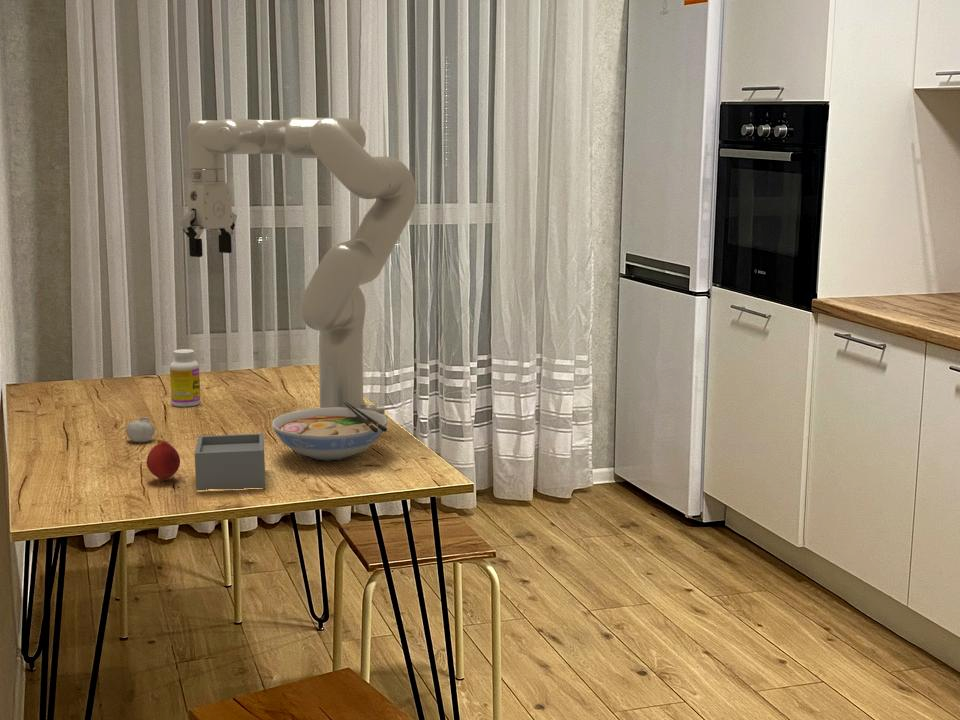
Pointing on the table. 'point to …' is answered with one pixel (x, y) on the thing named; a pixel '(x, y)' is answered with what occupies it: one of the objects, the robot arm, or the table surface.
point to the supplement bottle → (184, 379)
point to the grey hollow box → (230, 461)
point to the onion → (163, 460)
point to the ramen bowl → (330, 431)
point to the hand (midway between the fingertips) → (211, 254)
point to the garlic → (140, 430)
